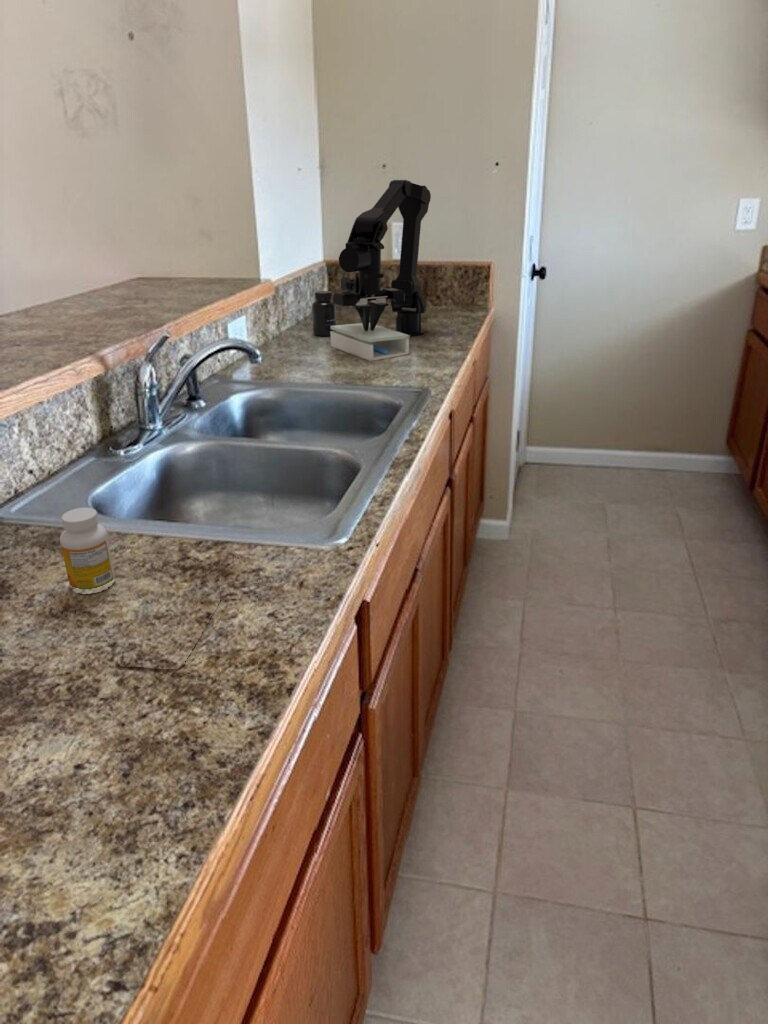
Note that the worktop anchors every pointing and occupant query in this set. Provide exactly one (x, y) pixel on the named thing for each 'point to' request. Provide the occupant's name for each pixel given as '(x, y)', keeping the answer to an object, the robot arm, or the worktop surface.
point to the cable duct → (370, 347)
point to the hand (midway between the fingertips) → (369, 330)
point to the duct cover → (369, 332)
